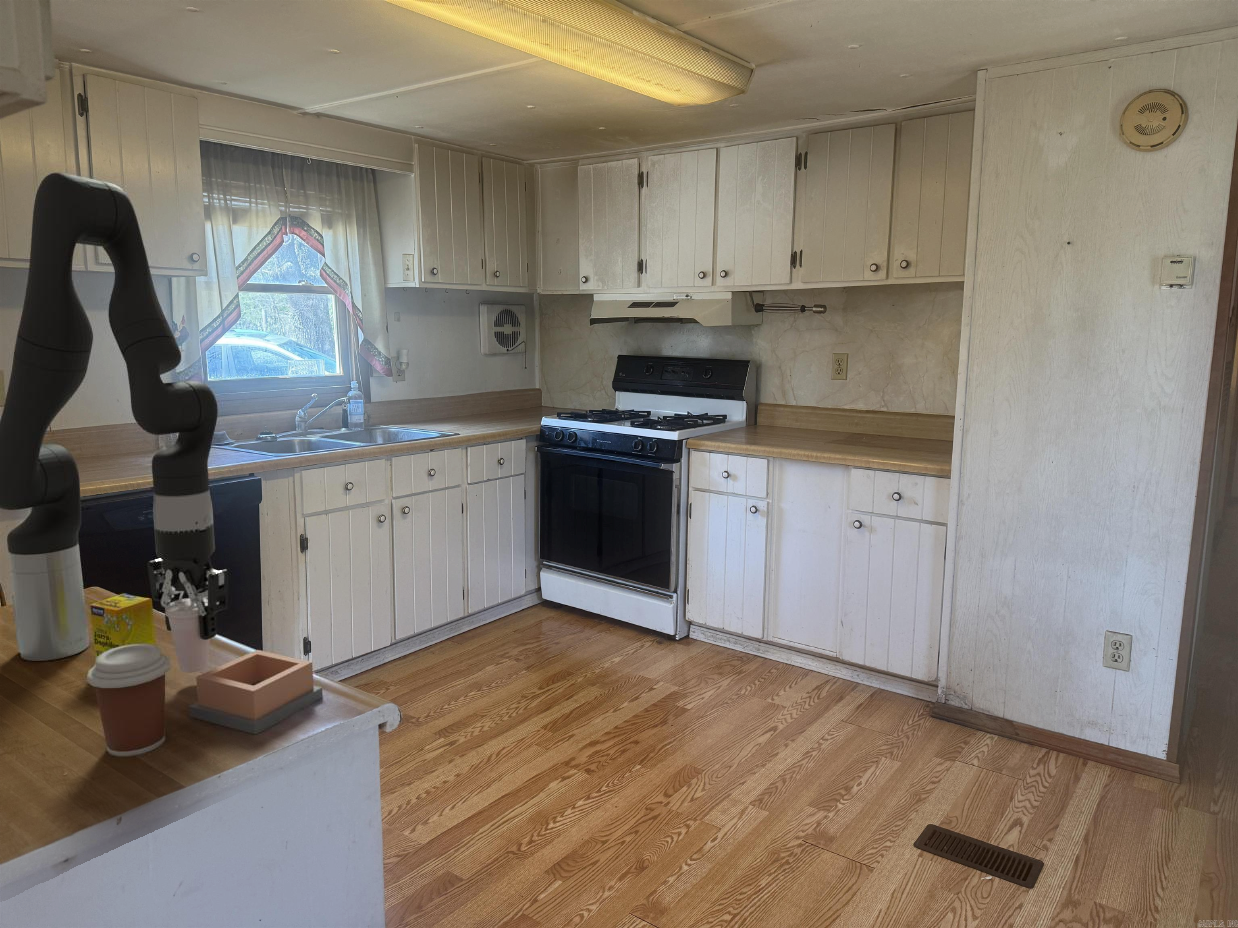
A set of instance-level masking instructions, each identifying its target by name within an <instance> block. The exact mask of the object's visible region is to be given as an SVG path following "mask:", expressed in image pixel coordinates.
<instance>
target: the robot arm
mask: <svg viewBox="0 0 1238 928" xmlns="http://www.w3.org/2000/svg"><path fill="white" fill-rule="evenodd" d="M138 220H139V219H138V218H137V214H136V211H135V208H134V206H133V204H132V202H131V199H130V198H129V196H128V194H127V193H126V192H125V190H124V189H122V188H121V187H119V186H118V185H116V184H114V183H111V182H108V181H103V180H98V179H94V178H88V177H84V176H80V175H75V174H70V173H64V172H51V173H49V174H48V175H46V176H45V177H44V178H43V179H42V180H41V182H40V184H39V186H38V188H37V190H36V194H35V200H34V204H33V211H32V223H31V239H30V250H29V251H30V255H29V265H28V266H29V267H28V274H27V283H26V289H25V294H24V302H23V305H22V306H23V307H22V312H21V316H20V321H19V324H18V330H17V333H16V340H15V346H14V349H13V350H14V351H13V358H12V365H11V372H10V378H9V382H8V386H7V392H6V396H5V401H4V406H3V410H2V414H1V417H0V509H2V510H7V511H17V510H19V511H20V510H25V509H30V508H31V511H30V513H29V515H28V516H27V517H26V518H25V519H24V521H22V522H21V523H20V524H19V525H18V526H16V527H14V528H13V529H12V530H10V531H9V533H8V534H7V537H6V543H7V551H8V558H9V559H8V560H9V567H10V573H11V584H12V590H13V591H12V592H13V595H12V596H11V603H12V609H13V610H12V611H13V618H14V626H15V634H16V635H15V636H16V643H17V652H18V653H20V656H21V658H22V659H23V660H25V661H32V662H42V661H52V660H57V659H58V660H59V659H62V658H66V657H70V656H73V655H76V654H78V653H80V652H82V651H84V650H86V649H87V648H88V647H89V645H90V640H89V639H90V638H89V630H88V621H87V612H86V611H87V610H86V608H87V607H86V601H85V593H84V592H85V591H84V581H83V573H82V565H81V564H82V563H81V556H80V555H81V553H80V545H79V532H80V529H81V525H82V505H81V504H82V503H81V483H80V482H81V481H80V473H79V468H78V465H77V463H76V460H75V457H74V456H73V454H71V452H70V451H69V450H68V449H67V448H65V446H62V445H60V444H56V443H46V444H45V443H44V444H43V442H44V441H43V440H44V438H45V435H46V432H47V431H48V428H49V426H50V425H51V423H52V422H53V420H54V419H55V418H56V416H57V415H58V414H59V413H60V412H61V410H62V409H63V408H64V407H65V406H66V404H67V403H68V402H69V401H70V400H71V399H72V397H74V395H75V393H76V392H77V391H78V390H79V387H80V386H81V385H82V383H83V382H84V379H85V377H86V375H87V371H88V367H89V363H90V359H91V353H92V347H93V343H94V332H93V328H92V324H91V322H90V320H89V317H88V315H87V313H86V312H87V311H86V310H85V308H84V306H83V304H82V302H81V300H80V297H79V295H78V293H77V291H76V288H75V286H74V281H73V259H74V252H75V248H76V245H78V244H80V245H85V246H86V245H87V246H95V247H102V248H103V250H104V251H105V253H106V254H107V256H108V258H109V260H110V262H111V264H112V267H113V272H114V281H113V287H112V291H111V295H110V299H109V302H108V313H107V314H108V322H109V326H110V329H111V332H112V334H113V337H114V339H115V342H116V343H117V347H118V350H119V351H120V353H121V355H122V357H123V359H124V363H125V365H126V371H127V378H128V384H129V385H128V387H129V394H130V396H129V397H130V408H131V413H132V416H133V418H134V420H135V422H136V423H137V425H138V426H139V427H140V429H142V430H144V432H146V433H148V434H151V435H155V436H163V435H171V434H178V436H177V439H176V441H175V443H174V444H173V445H171V446H170V447H168V448H166V449H164V450H161V451H159V452H156V453H155V454H154V455H153V457H152V460H151V473H152V485H153V486H152V487H153V503H152V504H153V505H152V511H153V512H152V515H153V524H154V525H153V527H154V528H153V529H154V541H155V553H156V556H157V557H158V558H156V559H153V560H149V561H147V563H146V566H147V571H148V580H149V585H150V592H151V599H152V601H155V602H157V601H158V602H160V605H161V606H162V607H163V608H164V613H165V612H166V611H165V607H166V606H167V605H168V604H170V603H172V602H174V601H177V600H181V599H183V595H184V594H185V593H186V594H187V595H188V598H190V600H191V601H192V602H195V604H196V606H197V608H198V611H199V613H200V615H199V626H200V638H201V639H204V640H208V639H210V640H211V639H212V638H215V637H216V636H217V634H218V621H217V619H218V618H217V617H218V616H217V613H218V612H220V611H223V610H227V609H228V607H229V577H230V576H229V570H227V569H226V568H225V569H222V570H217V569H214V568H213V565H212V563H211V559H210V557H211V556H212V554H213V553H214V552H215V550H216V544H215V528H214V527H215V526H214V513H213V512H214V511H213V510H214V509H213V503H212V498H211V492H210V481H209V480H210V479H209V467H208V464H209V462H208V461H209V456H210V453H211V448H212V444H213V438H214V435H215V431H216V426H217V421H218V414H219V413H218V412H219V407H218V403H217V399H216V396H215V394H214V392H213V391H212V390H211V389H210V387H208V386H207V384H205V383H203V382H201V381H195V380H190V381H177V382H176V381H173V382H163V380H162V377H161V375H164V374H167V373H169V372H172V371H173V370H174V369H176V368H177V367H178V366H179V365H180V364H181V362H182V352H181V350H180V347H179V345H178V343H177V341H176V339H175V336H174V333H173V331H172V329H171V327H170V325H169V322H168V320H167V318H166V315H165V314H164V310H163V309H162V306H161V304H160V301H159V298H158V295H157V292H156V288H155V285H154V281H153V277H152V274H151V273H152V272H151V270H150V264H149V261H148V255H147V251H146V247H145V245H144V240H143V236H142V232H141V228H140V224H139V221H138ZM161 583H162V589H161V590H160V584H161ZM204 589H205V591H203V590H204ZM201 591H203V592H201ZM199 592H201V593H199ZM203 598H206V599H207V600H208V605H207V606H206V605H205V603H204V601H203ZM218 599H219V600H218ZM164 619H165V621H164V622H165V625H166V626H165V627H166V630H167V631H169V632H172V631H171V627H170V622H169V617H168V616H166V615H165V614H164Z"/></svg>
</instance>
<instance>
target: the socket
mask: <svg viewBox="0 0 1238 928" xmlns="http://www.w3.org/2000/svg"><path fill="white" fill-rule="evenodd" d="M313 669H314V668H313V662H312V661H309V660H305V659H301V658H298V657H297V658H296V657H291V656H288V655H287V656H286V655H282V654H278V653H272V652H269V651H264V650H261V649H255V650H254V651H252V652H250V653H247V654H245V655H243V656H239V657H238V658H236V659H234V660H231V661H229V662H227V663H224V664H222V665H220V666H218V667H216V668H213V669H211V670H208V671H207V672H205V673H204V672H203V673H202V674H199V675H197V676H196V677H195V679H196V681H195V682H196V690H197V691H196V692H197V702H195V703H193V704H190V705H188V709H189V716H190V717H192V718H195V719H197V720H198V719H199V720H201V719H202V721H206V722H209V723H212V724H216V725H221V726H224V727H227V728H231V729H235V730H239V731H241V730H242V732H245V733H249V734H252V735H258V734H260V733H261V732H263V731H265V730H266V729H269V728H271V727H272V726H274V725H275V724H278V723H279V722H281V721H283V720H285V719H287V718H288V717H290V716H292V715H294V714H296V713H298V712H299V711H301V710H302V709H304V708H306V707H308V706H310V705H312V704H313V703H315V702H317V701H319V700H320V699H323V695H324V694H323V687H321V686H317V685H315V684H314V671H313Z"/></svg>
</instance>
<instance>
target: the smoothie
mask: <svg viewBox="0 0 1238 928" xmlns="http://www.w3.org/2000/svg"><path fill="white" fill-rule="evenodd" d="M203 601H204V603H205V605H206V606H207V605H208V600H207V599H206V598H203ZM165 611H166V612H165ZM165 615H166V616H168V617H169V622H170V627H171V631H170V632H171V636H172V641H173V645H174V650H175V652H176V653H175V654H176V658H177V662H178V666H179V671H181V673H196V672H197V673H198V672H200V671H203V670H205V669H207V668H208V666H209V655H210V645H211V644H210V643H211V642H210V640H211V638H210V639H208V640H204V639H201V638H200V626H199V615H200V613H199V611H198V608H197V606H196V604H195V602H192V601H191V600H190V598H189V597H188V598H182V599H181V600H177V601H174V602H172V603H170V604H168V605H167V606H166V607H165V610H164V616H165Z"/></svg>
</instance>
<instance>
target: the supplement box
mask: <svg viewBox="0 0 1238 928" xmlns="http://www.w3.org/2000/svg"><path fill="white" fill-rule="evenodd" d="M89 609H90V610H89V611H90V618H91V619H90V620H91V628H92V629H91V630H92V638H93V648H94V649H93V650H94V657H95V659H94V660H96V658H97V657H98V656H99V655H101V654H102V653H103V652H106V651H108V650H111V649H113V648H117V647H121V646H125V645H132V644H150V645H155V646H157V644H156V642H157V641H156V634H155V622H154V621H155V620H154V608H153V598H149V597H141V596H137V595H132V594H128V593H126V592H125V593H121V594H118V595H115V596H112V597H109V598H106V599H103V600H99V601H97V602H94V603H91V604H90V605H89Z"/></svg>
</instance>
